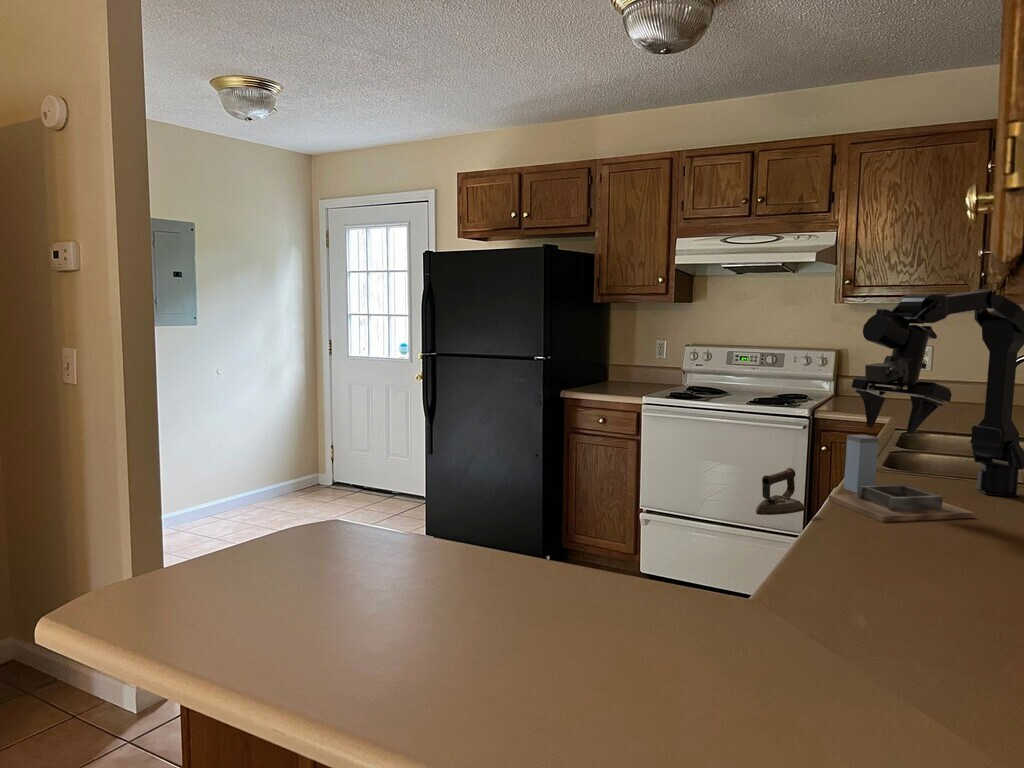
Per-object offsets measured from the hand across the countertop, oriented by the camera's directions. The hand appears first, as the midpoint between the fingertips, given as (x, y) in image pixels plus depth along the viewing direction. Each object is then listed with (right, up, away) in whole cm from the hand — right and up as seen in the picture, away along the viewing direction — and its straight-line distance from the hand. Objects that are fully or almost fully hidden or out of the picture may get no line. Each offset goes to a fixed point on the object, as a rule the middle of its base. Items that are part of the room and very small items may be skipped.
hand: (888, 430), depth 147 cm
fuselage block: (+1, -14, +15) cm, 20 cm away
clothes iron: (-24, -16, -3) cm, 29 cm away
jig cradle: (+2, -16, 0) cm, 16 cm away
